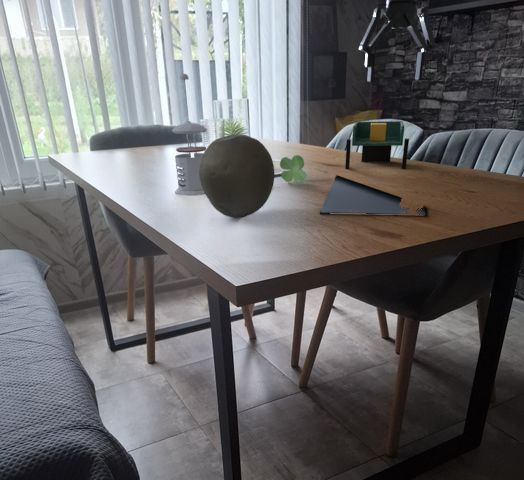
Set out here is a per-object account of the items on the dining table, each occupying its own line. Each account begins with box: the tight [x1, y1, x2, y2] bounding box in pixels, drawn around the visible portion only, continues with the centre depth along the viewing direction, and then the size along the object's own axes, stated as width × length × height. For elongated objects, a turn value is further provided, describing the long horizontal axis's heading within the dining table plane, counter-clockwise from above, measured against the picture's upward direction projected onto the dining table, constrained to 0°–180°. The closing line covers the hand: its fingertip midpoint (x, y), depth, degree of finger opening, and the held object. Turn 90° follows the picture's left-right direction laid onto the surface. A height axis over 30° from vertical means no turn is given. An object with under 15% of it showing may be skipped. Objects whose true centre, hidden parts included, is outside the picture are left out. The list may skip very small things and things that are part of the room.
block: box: [370, 123, 386, 141], centre depth 130 cm, size 4×4×4 cm
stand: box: [344, 137, 410, 170], centre depth 132 cm, size 14×16×9 cm
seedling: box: [279, 154, 308, 183], centre depth 127 cm, size 7×8×7 cm
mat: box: [319, 174, 427, 216], centre depth 110 cm, size 40×20×1 cm, turn 168°
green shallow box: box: [351, 120, 405, 147], centre depth 133 cm, size 22×13×5 cm, turn 168°
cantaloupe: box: [199, 133, 275, 219], centre depth 90 cm, size 14×14×15 cm
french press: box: [171, 73, 208, 196], centre depth 113 cm, size 10×12×25 cm
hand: (394, 80), depth 132 cm, fingers open, 13 cm apart
